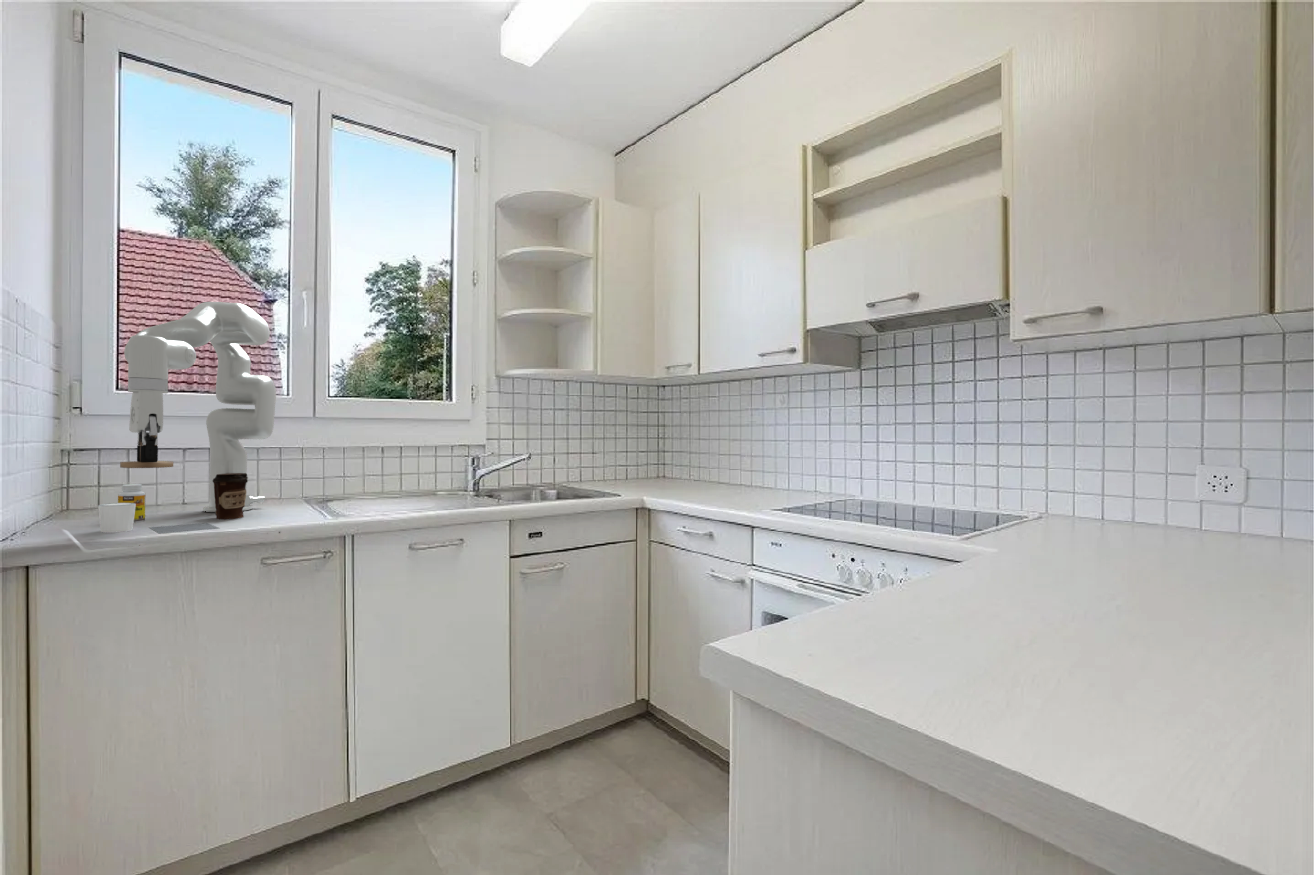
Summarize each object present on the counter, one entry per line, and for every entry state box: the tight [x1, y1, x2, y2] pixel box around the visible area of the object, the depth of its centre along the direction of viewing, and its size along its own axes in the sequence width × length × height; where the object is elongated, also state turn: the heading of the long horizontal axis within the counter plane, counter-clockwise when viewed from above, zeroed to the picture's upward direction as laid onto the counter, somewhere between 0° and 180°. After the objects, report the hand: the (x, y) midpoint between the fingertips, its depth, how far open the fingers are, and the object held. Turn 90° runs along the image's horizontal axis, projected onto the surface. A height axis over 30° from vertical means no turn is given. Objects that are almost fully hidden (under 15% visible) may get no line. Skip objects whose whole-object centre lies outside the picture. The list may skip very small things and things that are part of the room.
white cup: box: [97, 502, 136, 534], centre depth 148 cm, size 7×7×7 cm
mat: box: [148, 522, 219, 535], centre depth 153 cm, size 12×12×1 cm
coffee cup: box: [213, 473, 249, 520], centre depth 172 cm, size 9×8×13 cm
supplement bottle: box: [117, 483, 147, 523], centre depth 163 cm, size 6×6×10 cm
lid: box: [119, 442, 174, 469], centre depth 150 cm, size 10×10×6 cm
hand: (147, 461), depth 150 cm, fingers closed on lid, 2 cm apart
